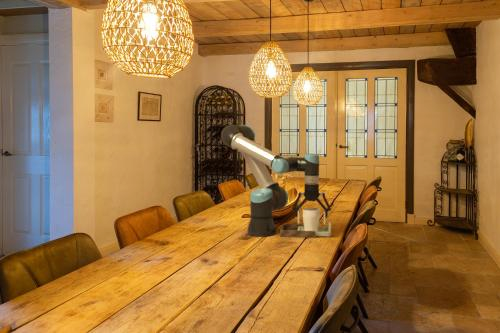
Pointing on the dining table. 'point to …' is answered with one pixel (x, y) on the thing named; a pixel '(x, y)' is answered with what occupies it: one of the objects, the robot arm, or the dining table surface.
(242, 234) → the dining table surface
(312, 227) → the cup
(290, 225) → the dock
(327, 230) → the tray
